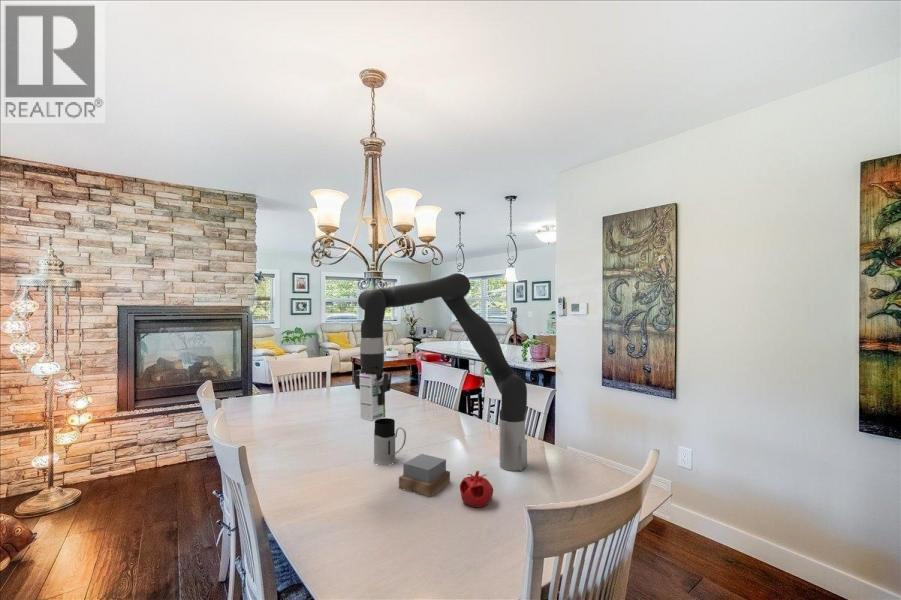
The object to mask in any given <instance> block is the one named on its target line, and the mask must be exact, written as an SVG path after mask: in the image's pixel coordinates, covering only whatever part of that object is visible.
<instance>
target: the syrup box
mask: <svg viewBox="0 0 901 600" xmlns="http://www.w3.org/2000/svg"><path fill="white" fill-rule="evenodd" d="M375 379H376V374H373V375H372V374H370V373H368V374H360V390H359V404H360V405H359V407H360V410H359V412H360V415H359V416H360V419H362V420H364V421H368V422H375V421H376V420H378V419H383V418H386V402H385V403H384V404H383V405H381V406H380V405H378V394H379V393H378V391H377V388H376V387H375ZM376 380H377V379H376ZM382 380H383V377H382V378H381V380H379V381H377V383H382ZM380 388H381V386H380Z"/></svg>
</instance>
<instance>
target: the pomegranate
mask: <svg viewBox="0 0 901 600" xmlns="http://www.w3.org/2000/svg"><path fill="white" fill-rule="evenodd" d="M479 474H480V471H479V470H476V471H475V474H474V475H473V474H472V473H468V474H467V476H466V477H463V479H462V480H461V481H460V484H459V491H460V497H461V500H462V502H463V503H464V504H465V505H468V506H471V507H474V508H480V507H485V506H487V505H488V503H489V502H491V501H492V498H493V496H494V495H493V494H494V487H493V485H492V484H491V483H490V482H489V480H488V479H487V478H485V477H484V476H486V474H483V475H479Z"/></svg>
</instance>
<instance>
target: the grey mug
mask: <svg viewBox="0 0 901 600" xmlns="http://www.w3.org/2000/svg"><path fill="white" fill-rule="evenodd" d="M395 422H396V420H395V419H394V418H386V417H384V418H381V419H378V420H374V429H373V443H374V444H373V449H374V451H373V460H372V463H373V462H374V463H375V464H378V465H377V466H380V465H386V466H390V465H389V464H391V465H393V464H395V463H396V462H397V458H396V455H397V454H398V453H399V452H400V451H401V450H403V448H404V446H405V443H406V439H407V433H406V429H405V428H403V427H402V426H400V427H397V429H396V427H395V426H396V425H395V424H396V423H395ZM395 429H396V430H395ZM399 429H400V430H402V431H403V437H404V438H403V443H402V445H401V447H400V448H399V449H398V450H397V451H396V438H397V436H398V431H399ZM374 463H373V464H374ZM392 463H393V464H392ZM375 464H374V465H375Z"/></svg>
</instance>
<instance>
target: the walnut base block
mask: <svg viewBox="0 0 901 600" xmlns="http://www.w3.org/2000/svg"><path fill="white" fill-rule="evenodd" d="M450 478H451V471H450V470H446V472H445V473H443V474H442V475H440V476H439V477H437V478H436V479H434V480H433V481H431V482H430V483H427V482H423V481H420V480H416V479H413V478H409V477H406V476H403V474H402V475H401V476H399V477H398V489H400V488H401V490H403V489H405V490H404V491H407V490H408V492H410V491H411V493H414V492H415V493H414V494H417V493H418V495H421V494H422V496H424V495H425V497H428V496H429V497H428V498H431V497H432V496H434V495H436V493H438V492H439V491H440V490H442V489H444V487H446V485H448V484H449V483H450V482H451V479H450Z"/></svg>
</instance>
